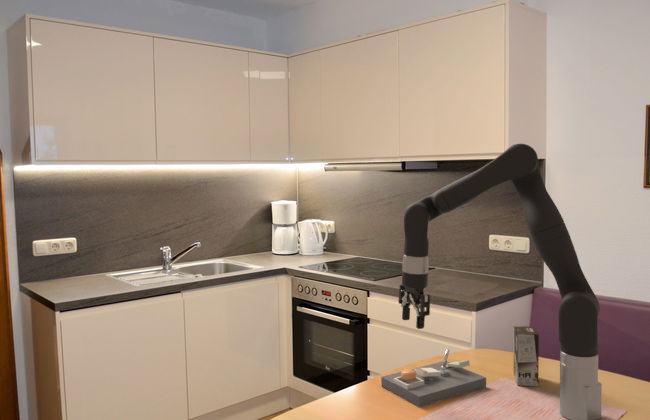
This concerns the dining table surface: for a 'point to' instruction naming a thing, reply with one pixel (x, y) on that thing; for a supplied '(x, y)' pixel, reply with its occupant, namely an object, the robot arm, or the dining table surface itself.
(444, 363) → the toggle lever
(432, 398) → the control panel
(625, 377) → the dining table surface
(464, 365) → the paddle switch
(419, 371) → the rocker switch
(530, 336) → the coffee box
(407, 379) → the push button
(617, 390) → the dining table surface
